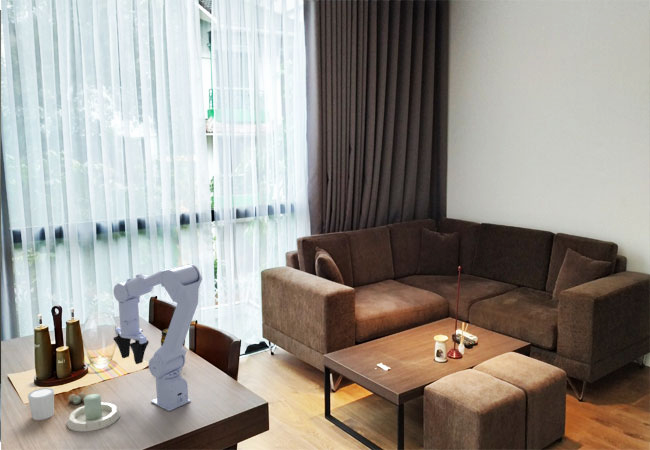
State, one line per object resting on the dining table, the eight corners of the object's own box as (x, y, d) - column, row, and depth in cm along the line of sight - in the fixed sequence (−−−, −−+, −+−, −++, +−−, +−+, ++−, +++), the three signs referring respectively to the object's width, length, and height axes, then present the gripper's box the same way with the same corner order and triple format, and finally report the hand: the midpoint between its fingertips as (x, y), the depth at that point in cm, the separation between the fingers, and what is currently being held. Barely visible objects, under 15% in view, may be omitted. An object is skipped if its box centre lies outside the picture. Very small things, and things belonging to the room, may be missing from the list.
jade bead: (105, 413, 162) (103, 394, 161) (97, 421, 158) (95, 401, 157) (90, 413, 162) (88, 393, 162) (82, 420, 158) (80, 400, 157)
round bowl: (129, 417, 161) (128, 410, 161) (82, 437, 150) (82, 430, 150) (103, 403, 170) (103, 396, 170) (58, 421, 159) (57, 414, 159)
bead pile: (92, 401, 171) (91, 394, 170) (76, 408, 167) (76, 400, 167) (82, 396, 174) (81, 389, 174) (66, 402, 171) (66, 394, 170)
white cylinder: (49, 407, 168) (47, 385, 166) (60, 414, 163) (58, 391, 162) (25, 416, 162) (23, 393, 161) (36, 423, 158) (34, 400, 157)
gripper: (153, 320, 174) (156, 361, 176) (128, 311, 183) (130, 351, 185) (133, 326, 168) (136, 368, 170) (108, 317, 177) (111, 357, 180)
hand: (132, 360), depth 177 cm, fingers open, 7 cm apart
